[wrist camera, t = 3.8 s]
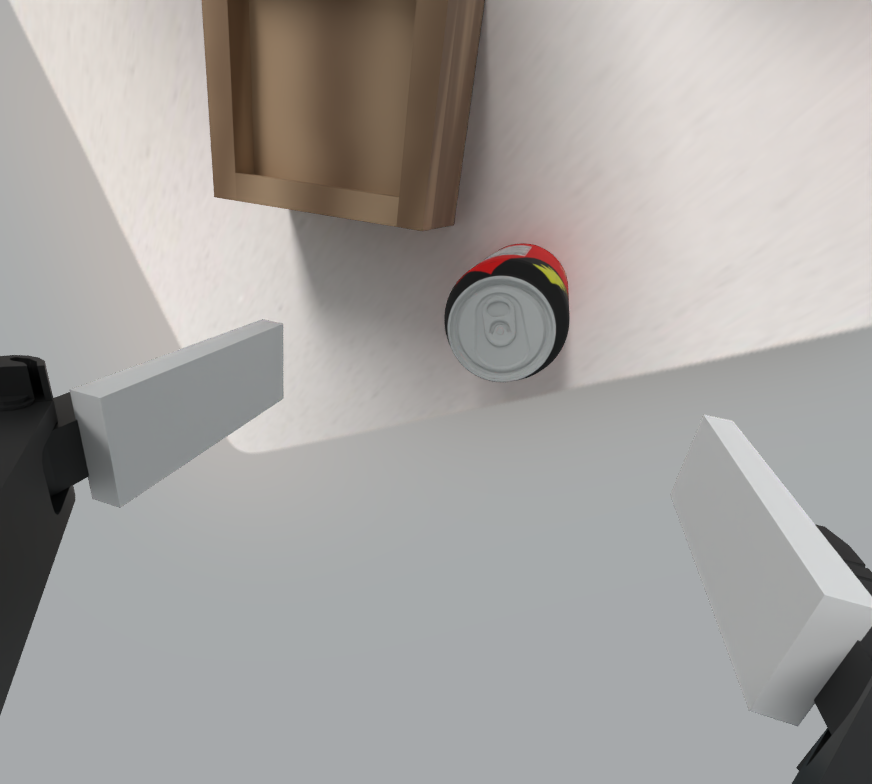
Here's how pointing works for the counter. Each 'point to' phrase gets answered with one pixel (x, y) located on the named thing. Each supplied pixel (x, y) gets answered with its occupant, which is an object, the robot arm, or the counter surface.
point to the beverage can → (509, 314)
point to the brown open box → (342, 105)
